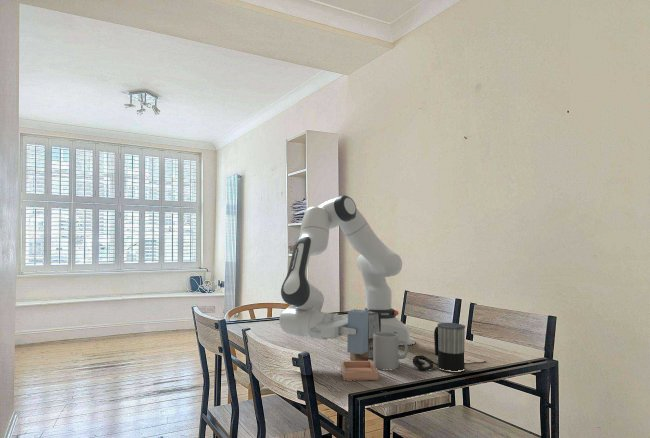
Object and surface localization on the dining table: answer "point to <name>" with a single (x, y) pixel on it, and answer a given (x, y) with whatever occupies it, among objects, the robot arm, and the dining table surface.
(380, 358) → the mug
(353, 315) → the slate block
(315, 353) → the dining table surface
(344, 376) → the tray
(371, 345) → the coffee box
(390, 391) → the dining table surface
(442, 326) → the milk frother
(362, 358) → the walnut cube
